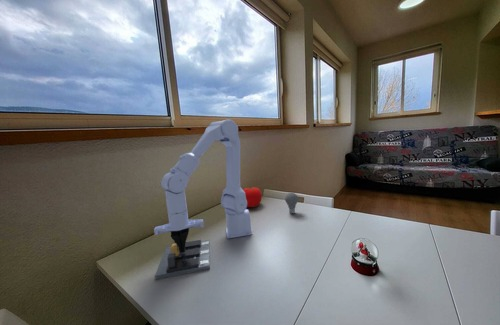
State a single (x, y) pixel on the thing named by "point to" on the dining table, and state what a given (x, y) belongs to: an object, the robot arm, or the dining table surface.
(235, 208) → the robot arm
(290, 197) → the light bulb
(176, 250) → the breaker
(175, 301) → the dining table surface
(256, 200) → the tomato
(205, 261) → the breaker panel
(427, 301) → the dining table surface
